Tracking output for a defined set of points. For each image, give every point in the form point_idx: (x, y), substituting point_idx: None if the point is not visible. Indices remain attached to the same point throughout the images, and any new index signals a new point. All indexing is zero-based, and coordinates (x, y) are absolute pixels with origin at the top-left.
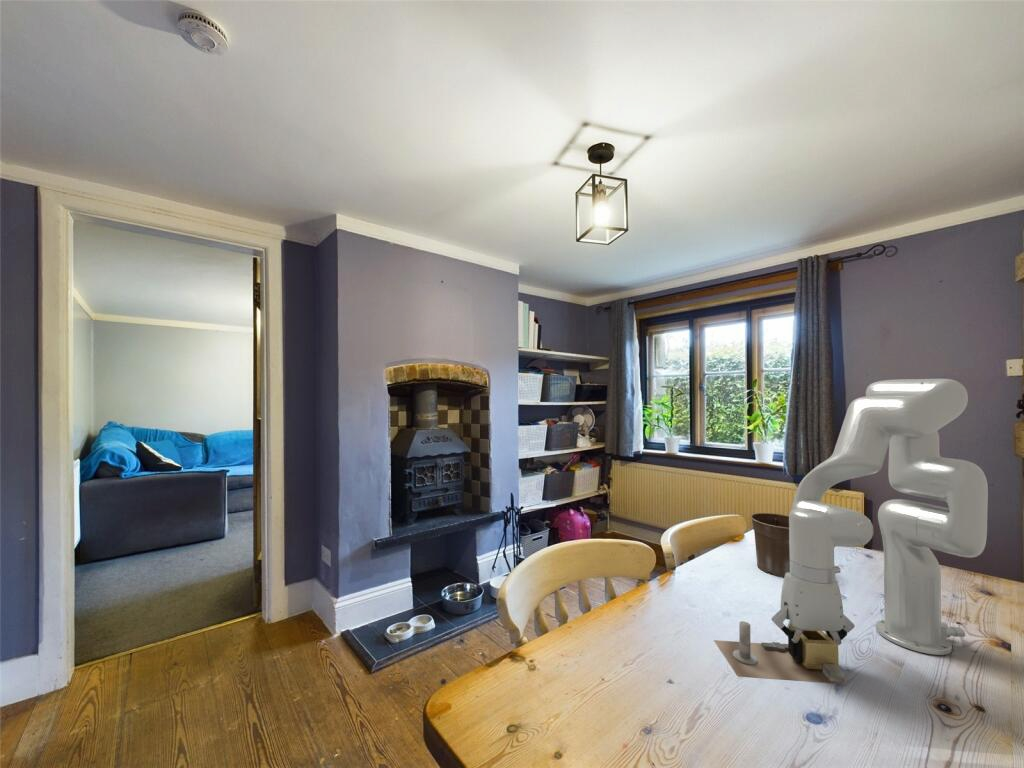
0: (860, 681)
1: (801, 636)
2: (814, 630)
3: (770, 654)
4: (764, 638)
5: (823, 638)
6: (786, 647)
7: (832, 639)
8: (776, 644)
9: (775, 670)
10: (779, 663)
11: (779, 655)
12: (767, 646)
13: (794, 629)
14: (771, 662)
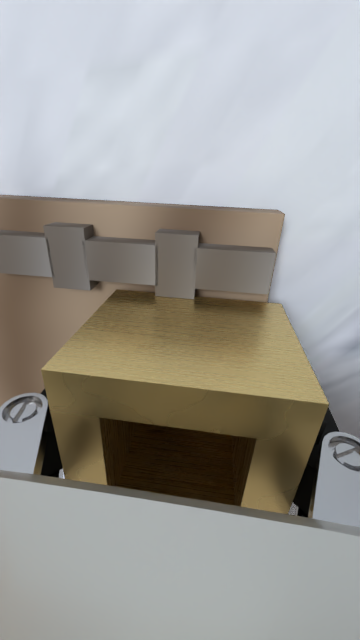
0: (331, 405)
1: (81, 480)
2: (242, 434)
3: (20, 302)
4: (71, 48)
5: (241, 489)
6: (104, 278)
7: (299, 506)
8: (57, 251)
9: (12, 394)
10: (40, 359)
11: (59, 309)
12: (2, 271)
13: (43, 458)
14: (10, 353)
